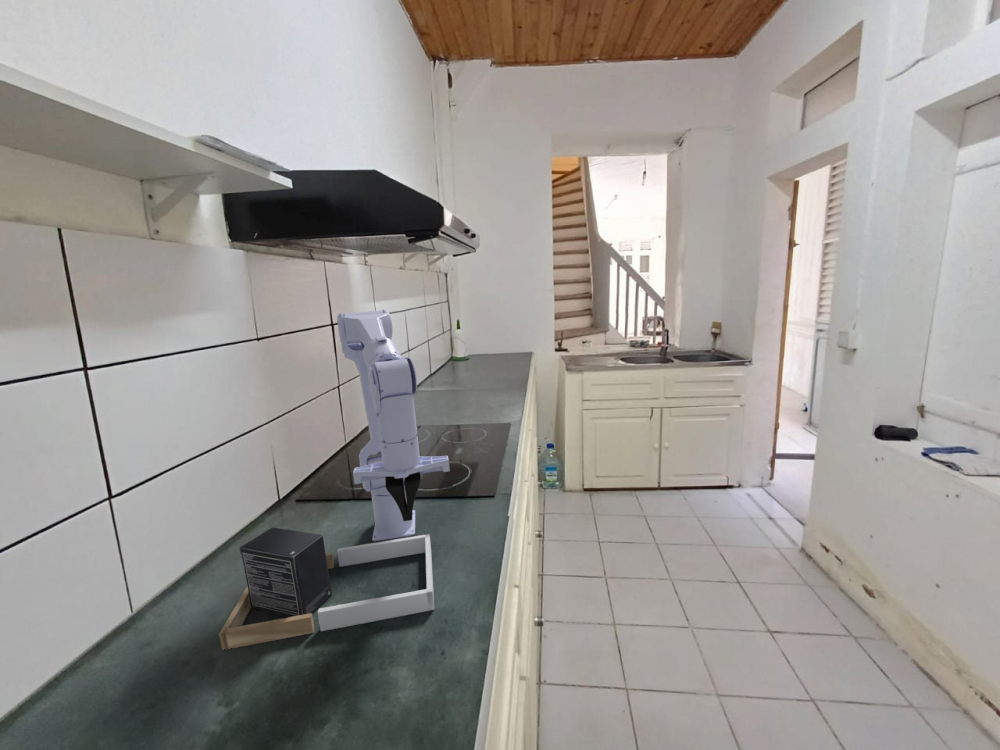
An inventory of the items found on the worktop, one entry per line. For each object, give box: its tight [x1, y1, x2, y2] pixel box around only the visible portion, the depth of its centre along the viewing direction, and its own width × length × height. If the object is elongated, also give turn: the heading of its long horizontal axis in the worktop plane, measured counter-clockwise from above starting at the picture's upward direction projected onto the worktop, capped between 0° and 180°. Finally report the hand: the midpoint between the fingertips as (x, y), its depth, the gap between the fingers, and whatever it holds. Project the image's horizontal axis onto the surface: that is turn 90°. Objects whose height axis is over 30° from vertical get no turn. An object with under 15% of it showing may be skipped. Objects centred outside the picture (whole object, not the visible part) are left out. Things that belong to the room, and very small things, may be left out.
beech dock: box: [218, 551, 335, 651], centre depth 65 cm, size 16×12×2 cm
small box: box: [239, 527, 332, 618], centre depth 65 cm, size 11×6×10 cm, turn 71°
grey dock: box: [317, 533, 435, 632], centre depth 68 cm, size 16×16×3 cm
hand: (408, 517), depth 68 cm, fingers closed
